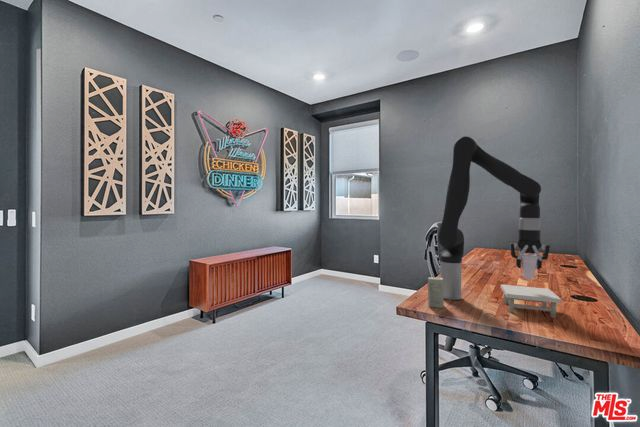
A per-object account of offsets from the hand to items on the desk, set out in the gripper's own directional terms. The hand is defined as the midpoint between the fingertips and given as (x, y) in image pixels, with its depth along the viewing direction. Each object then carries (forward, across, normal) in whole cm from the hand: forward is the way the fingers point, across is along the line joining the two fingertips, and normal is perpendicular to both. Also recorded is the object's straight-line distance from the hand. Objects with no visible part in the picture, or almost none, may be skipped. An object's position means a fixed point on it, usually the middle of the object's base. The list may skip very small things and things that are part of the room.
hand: (528, 268), depth 127 cm
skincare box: (+18, -36, -10) cm, 41 cm away
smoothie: (+4, 0, 0) cm, 4 cm away
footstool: (+18, 0, 0) cm, 18 cm away
